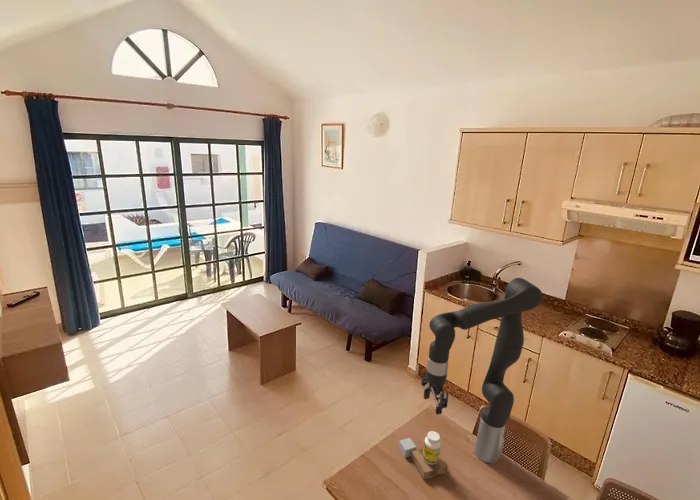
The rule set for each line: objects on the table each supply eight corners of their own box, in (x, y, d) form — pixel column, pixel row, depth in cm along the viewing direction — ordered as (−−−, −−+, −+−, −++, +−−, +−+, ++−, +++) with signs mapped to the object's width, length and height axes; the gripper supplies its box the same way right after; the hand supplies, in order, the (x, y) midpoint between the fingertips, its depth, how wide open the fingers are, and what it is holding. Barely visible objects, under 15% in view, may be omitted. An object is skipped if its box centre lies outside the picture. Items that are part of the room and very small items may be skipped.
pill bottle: (419, 455, 142) (422, 432, 138) (431, 450, 144) (434, 427, 141) (429, 467, 136) (432, 444, 133) (441, 462, 139) (445, 438, 136)
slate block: (408, 445, 151) (409, 437, 149) (415, 454, 146) (416, 446, 145) (398, 448, 149) (399, 440, 148) (404, 458, 144) (405, 450, 143)
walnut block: (432, 452, 147) (433, 445, 146) (446, 473, 138) (447, 466, 137) (410, 458, 144) (411, 451, 143) (423, 479, 135) (424, 472, 134)
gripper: (457, 378, 127) (451, 417, 132) (435, 356, 140) (430, 391, 145) (438, 382, 125) (433, 421, 129) (418, 359, 138) (414, 395, 142)
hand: (432, 405), depth 137 cm, fingers open, 8 cm apart
